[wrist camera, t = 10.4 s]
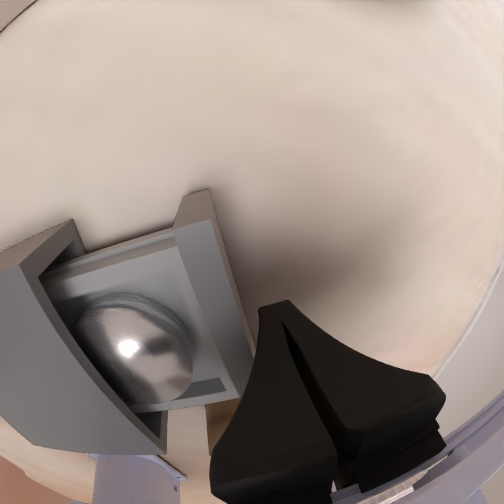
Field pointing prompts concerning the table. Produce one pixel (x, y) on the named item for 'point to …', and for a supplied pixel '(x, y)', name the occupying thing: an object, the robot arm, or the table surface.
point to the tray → (172, 296)
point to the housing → (59, 364)
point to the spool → (219, 419)
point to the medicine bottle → (11, 10)
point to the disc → (137, 347)
